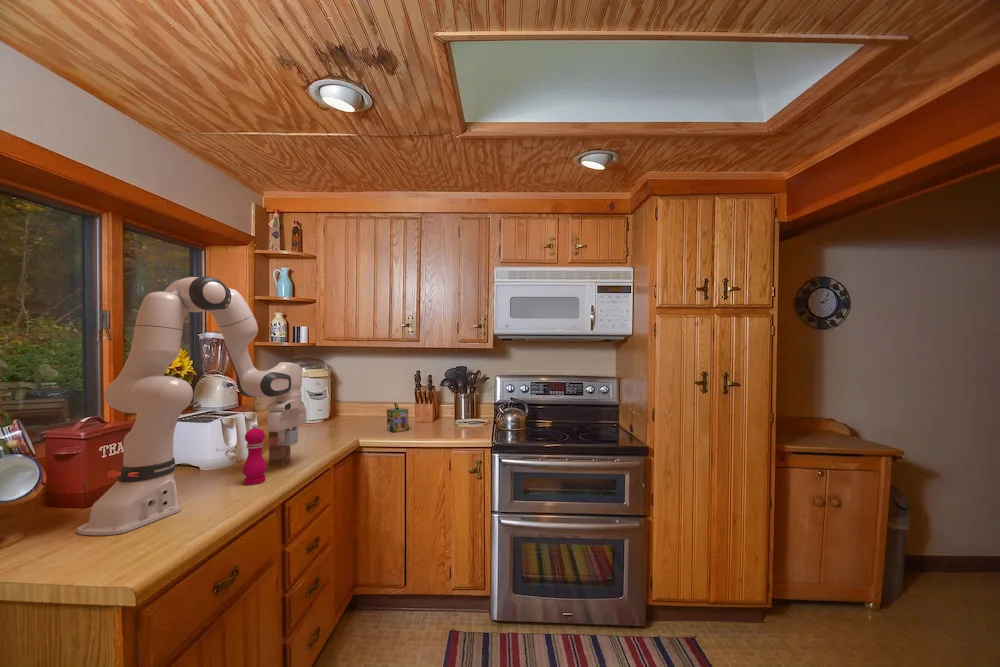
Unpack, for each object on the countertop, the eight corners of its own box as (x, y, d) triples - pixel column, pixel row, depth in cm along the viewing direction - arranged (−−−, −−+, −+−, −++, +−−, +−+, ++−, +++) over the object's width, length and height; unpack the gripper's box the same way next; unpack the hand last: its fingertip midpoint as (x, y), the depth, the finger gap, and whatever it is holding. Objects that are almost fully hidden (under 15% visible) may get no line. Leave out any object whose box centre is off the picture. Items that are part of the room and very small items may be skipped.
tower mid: (282, 451, 166) (282, 437, 166) (268, 451, 166) (268, 437, 166) (290, 448, 171) (290, 434, 171) (277, 447, 171) (277, 434, 172)
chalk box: (409, 430, 228) (408, 403, 228) (392, 433, 222) (392, 404, 223) (402, 427, 235) (402, 401, 235) (386, 430, 230) (386, 402, 230)
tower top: (282, 437, 166) (282, 423, 166) (268, 437, 166) (268, 423, 166) (290, 434, 171) (290, 420, 171) (277, 434, 172) (277, 420, 172)
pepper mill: (239, 482, 146) (239, 424, 146) (262, 477, 151) (262, 421, 151) (246, 487, 141) (246, 427, 141) (269, 481, 146) (269, 423, 147)
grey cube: (290, 445, 160) (290, 432, 160) (277, 445, 160) (278, 432, 160) (297, 442, 164) (298, 429, 165) (285, 442, 165) (285, 429, 165)
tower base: (282, 465, 165) (282, 451, 166) (268, 465, 166) (268, 451, 166) (290, 461, 171) (290, 448, 171) (277, 461, 171) (277, 447, 171)
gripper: (296, 400, 174) (295, 434, 173) (264, 406, 153) (263, 445, 153) (311, 400, 173) (310, 434, 172) (280, 407, 153) (279, 445, 152)
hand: (287, 439), depth 162 cm, fingers closed on grey cube, 5 cm apart
